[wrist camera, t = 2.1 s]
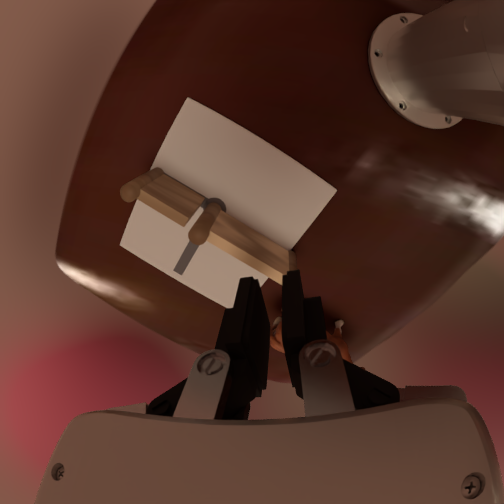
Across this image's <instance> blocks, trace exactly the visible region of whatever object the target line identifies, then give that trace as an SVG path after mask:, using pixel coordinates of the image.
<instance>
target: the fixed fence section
mask: <svg viewBox="0 0 504 504" xmlns="http://www.w3.org/2000/svg"><path fill="white" fill-rule="evenodd" d="M120 194H121V197H122V199H123V200H124V201H126V202H132V201H134V200H135V199H138V200H139V201H141V202H143V203H144V204H146V205H148V206H149V207H151V208H152V209H154V210H156V211H157V212H159V213H161V214H162V215H164V216H166V217H167V218H169V219H171V220H172V221H174V222H176V223H177V224H179V225H181V226H182V227H185V225H186V224H187V223H188V221H189V220H190V219H191V217H192V216H193V215H194V214H195V212H196V211H197V210H198V208H199V207H200V206H201V204H202V203H203V201H204V199H205V198H204V197H203V196H201V195H199V194H198V193H196V192H194V191H193V190H191V189H189V188H188V187H186V186H184V185H183V184H181V183H179V182H177V181H176V180H174V179H172V178H171V177H169V176H167V175H165V174H164V171H163V170H162V169H161V168H158V167H156V168H154V169H152V170H150V171H148V172H146V173H144V174H143V175H141V176H139V177H137V178H135V179H134V180H132V181H130V182H128V183H127V184H125V185H123V186H122V187H121V190H120Z"/></svg>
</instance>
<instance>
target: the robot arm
mask: <svg viewBox="0 0 504 504" xmlns="http://www.w3.org/2000/svg"><path fill="white" fill-rule="evenodd" d="M375 53H377V54H378V57H377V56H376V55H375ZM368 62H369V67H370V72H371V75H372V77H373V80H374V82H375V85H376V87H377V88H378V90H379V92H380V94H381V95H382V97H383V98H384V99H385V101H386V102H387V103H388V104H389V106H390V107H392V108H393V109H394V110H395V111H396V112H397V113H398V114H399V115H401V116H402V117H403V118H405V119H406V120H408V121H410V122H412V123H414V124H416V125H419V126H423V127H426V128H433V129H444V128H448V127H451V126H453V125H455V124H456V123H458V122H460V121H461V120H462V119H463V118H467V119H473V120H478V121H483V122H488V123H493V124H498V125H502V126H504V0H454V1H452V2H450V3H448V4H446V5H444V6H441V7H439V8H437V9H436V10H434V11H432V12H430V13H428V14H426V15H424V16H423V15H420V14H415V13H400V14H396V15H392V16H390V17H389V18H387V19H385V20H384V21H383V22H381V23H380V24H379V25H378V26H377V28H376V29H375V30H374V31H373V34H372V36H371V38H370V41H369V47H368ZM399 103H400V104H401V106H402V107H401V108H400V107H399ZM445 119H446V120H445ZM281 334H282V343H283V348H284V352H285V356H286V361H287V365H288V369H289V374H290V378H291V382H292V386H293V387H295V389H296V394H297V395H298V396H299V397H300V398H302V399H303V400H304V408H305V417H298V418H285V419H267V420H248V417H249V412H250V402H251V401H252V400H253V399H254V398H255V397H261V394H262V390H264V389H266V386H267V373H268V359H269V345H270V322H269V319H268V315H267V311H266V307H265V303H264V299H263V296H262V292H261V288H260V284H259V280H258V279H254V278H253V276H251V277H243V278H240V280H239V284H238V288H237V292H236V297H235V301H234V305H233V308H227V309H225V312H224V316H223V319H222V323H221V327H220V331H219V334H218V338H217V342H216V346H215V350H209V351H206V352H204V353H203V354H201V355H200V356H199V357H198V358H197V359H196V360H195V362H194V364H193V366H192V369H191V371H190V374H189V377H188V378H186V379H185V380H183V381H182V382H180V383H179V384H177V385H176V386H174V387H172V388H171V389H169V390H168V391H166V392H165V393H163V394H162V395H160V396H159V397H157V398H155V399H154V400H153V401H152V402H151V403H150V404H149V405H148V404H147V403H140V404H134V405H128V406H122V407H114V408H109V409H107V410H100V411H93V412H87V413H83V414H81V415H78V416H77V417H75V418H74V419H73V420H72V421H71V422H70V423H69V424H68V426H67V427H66V429H65V430H64V432H63V434H62V435H61V437H60V439H59V441H58V443H57V445H56V447H55V449H54V452H53V454H52V456H51V458H50V461H49V463H48V466H47V468H46V471H45V474H44V476H43V479H42V482H41V484H40V487H39V490H38V493H37V496H36V500H35V503H34V504H504V489H503V483H502V477H501V471H500V467H499V463H498V458H497V455H496V451H495V448H494V444H493V442H492V438H491V436H490V434H489V431H488V428H487V426H486V424H485V422H484V420H483V418H482V416H481V415H480V413H479V412H478V411H477V409H476V408H475V407H473V406H472V405H471V404H469V403H468V402H467V398H466V394H465V392H464V391H463V390H462V389H461V388H459V387H457V386H451V385H450V386H405V388H396V386H395V385H393V384H392V383H390V382H388V381H386V380H384V379H382V378H380V377H378V376H376V375H374V374H372V373H370V372H368V371H366V370H364V369H362V368H360V367H358V366H356V365H354V364H352V363H350V362H349V361H347V360H345V359H343V358H342V355H341V352H340V349H339V347H338V346H337V345H336V344H335V343H334V342H332V341H330V340H327V334H326V327H325V321H324V314H323V308H322V302H321V297H320V296H319V297H312V298H305V299H304V295H303V289H302V283H301V277H300V271H299V269H298V270H292V271H287V275H282V330H281Z"/></svg>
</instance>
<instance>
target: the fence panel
mask: <svg viewBox="0 0 504 504" xmlns="http://www.w3.org/2000/svg"><path fill="white" fill-rule="evenodd" d="M188 238H189V240H190V241H191V242H192V243H193V244H195V245H202V244H204V243H205V242H206V241H208V242H209V243H211V244H213V245H214V246H216V247H218V248H219V249H221V250H223V251H225V252H226V253H228V254H230V255H231V256H233V257H235V258H236V259H238V260H240V261H242V262H243V263H245V264H247V265H248V266H250V267H252V268H254V269H255V270H257V271H259V272H260V273H262V274H264V275H266V276H267V277H269V278H271V279H272V280H274V281H276V282H278V283H279V284H281V285H282V275H287V271H292V270H297V261H296V254H295V252H294V251H291V250H288V251H287V250H286V249H284V248H282V247H281V246H279V245H278V244H276V243H274V242H273V241H271V240H270V239H268V238H266V237H265V236H263V235H261V234H260V233H258V232H257V231H255V230H253V229H252V228H250V227H248V226H247V225H245V224H243V223H242V222H240V221H238V220H237V219H235V218H234V217H232V216H230V215H229V214H227V213H225V212H224V211H222V209H221V207H220V205H219V204H217V203H210V204H208V205H207V207H206V208H205V209H204V211H203V212H202V214H201V215H200V216H199V218H198V219H197V221H196V222H195V223H194V225H193V226H192V228H191V229H190V231H189V232H188Z"/></svg>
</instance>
